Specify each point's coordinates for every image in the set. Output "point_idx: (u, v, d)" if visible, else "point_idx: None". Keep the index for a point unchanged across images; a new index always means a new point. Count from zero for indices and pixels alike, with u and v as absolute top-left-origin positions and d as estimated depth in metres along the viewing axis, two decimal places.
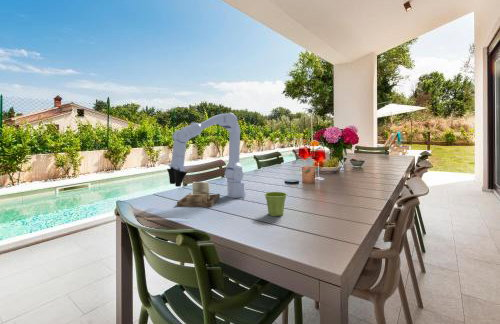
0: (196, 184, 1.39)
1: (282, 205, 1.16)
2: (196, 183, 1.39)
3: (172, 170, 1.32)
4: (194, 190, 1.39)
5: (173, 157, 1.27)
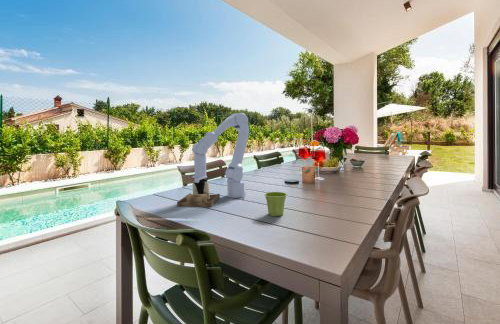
0: None
1: (282, 205, 1.16)
2: None
3: None
4: (194, 190, 1.39)
5: None
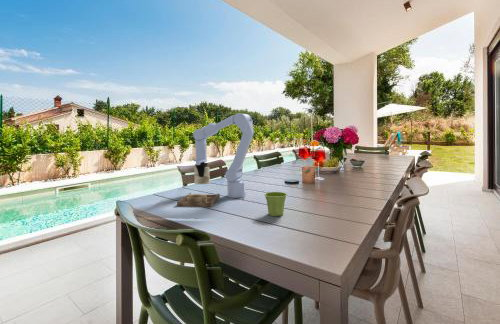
0: None
1: (282, 205, 1.16)
2: None
3: None
4: (195, 174, 1.53)
5: None
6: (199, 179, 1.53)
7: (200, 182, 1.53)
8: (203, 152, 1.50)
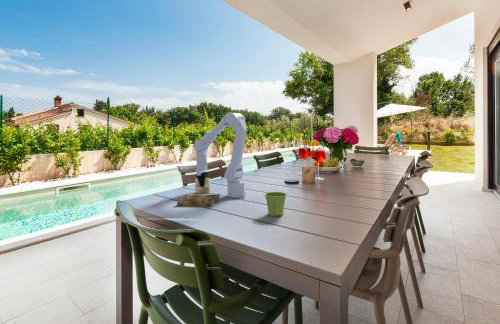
0: None
1: (282, 205, 1.16)
2: None
3: None
4: (196, 185, 1.56)
5: None
6: (200, 190, 1.57)
7: None
8: (204, 162, 1.53)
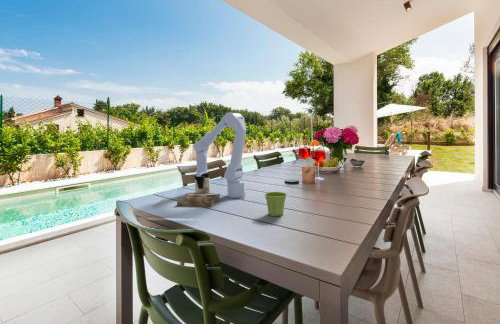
0: None
1: (282, 205, 1.16)
2: None
3: (202, 175, 1.60)
4: (196, 185, 1.56)
5: None
6: (200, 190, 1.57)
7: None
8: (204, 164, 1.53)
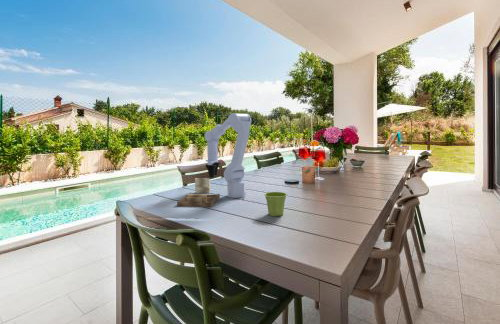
0: (198, 180, 1.56)
1: (282, 205, 1.16)
2: (198, 179, 1.56)
3: (213, 164, 1.64)
4: (196, 185, 1.56)
5: None
6: (200, 190, 1.57)
7: None
8: (214, 153, 1.57)
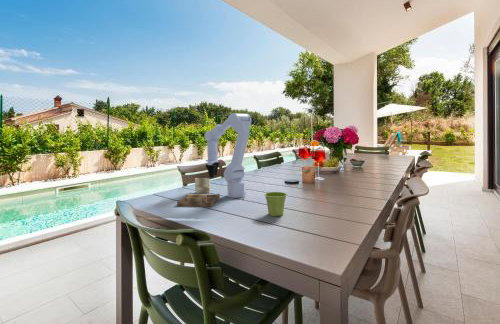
0: (198, 180, 1.56)
1: (282, 205, 1.16)
2: (198, 179, 1.56)
3: (213, 164, 1.64)
4: (196, 185, 1.56)
5: None
6: (200, 190, 1.57)
7: None
8: (214, 153, 1.57)
